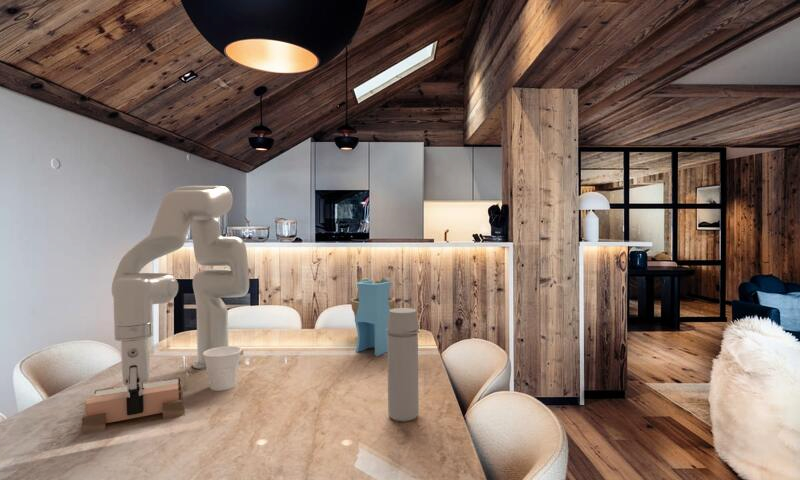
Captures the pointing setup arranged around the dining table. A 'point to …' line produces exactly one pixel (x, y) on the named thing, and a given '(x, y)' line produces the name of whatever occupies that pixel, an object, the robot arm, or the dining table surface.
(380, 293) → the blue arched stand
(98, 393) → the grey strip
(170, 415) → the rack
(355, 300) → the potted plant
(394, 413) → the water bottle
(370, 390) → the dining table surface
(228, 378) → the cup
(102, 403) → the terracotta strip
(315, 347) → the dining table surface
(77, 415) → the dining table surface
